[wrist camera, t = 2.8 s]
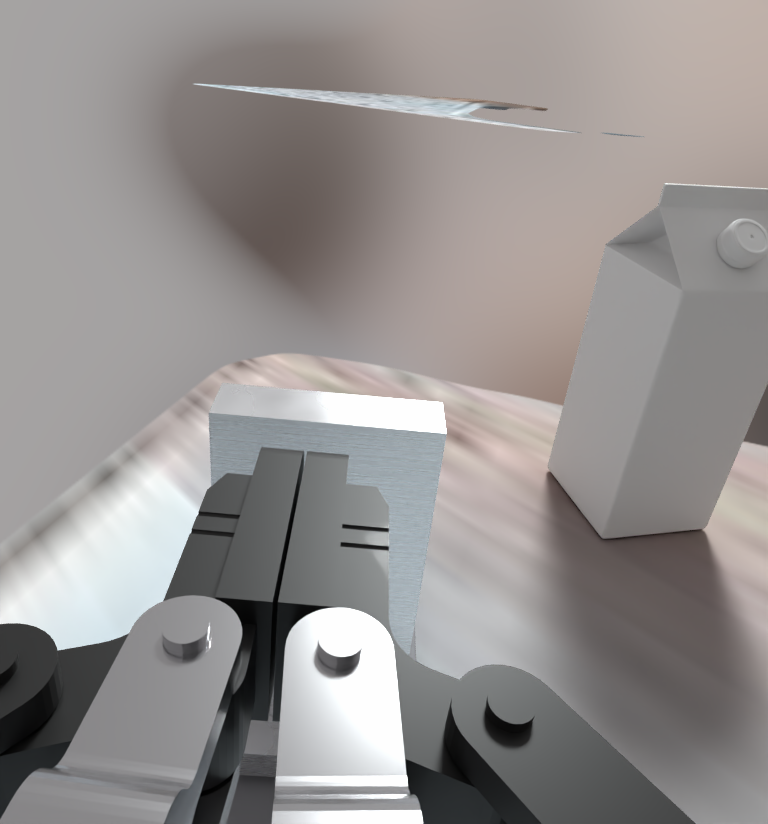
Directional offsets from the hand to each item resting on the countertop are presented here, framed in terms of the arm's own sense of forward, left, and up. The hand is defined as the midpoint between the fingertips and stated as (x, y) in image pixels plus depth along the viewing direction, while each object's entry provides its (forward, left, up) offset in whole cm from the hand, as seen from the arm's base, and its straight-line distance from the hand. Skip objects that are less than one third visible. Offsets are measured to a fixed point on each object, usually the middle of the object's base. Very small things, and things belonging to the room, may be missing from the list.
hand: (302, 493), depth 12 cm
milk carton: (-25, -17, -18) cm, 35 cm away
